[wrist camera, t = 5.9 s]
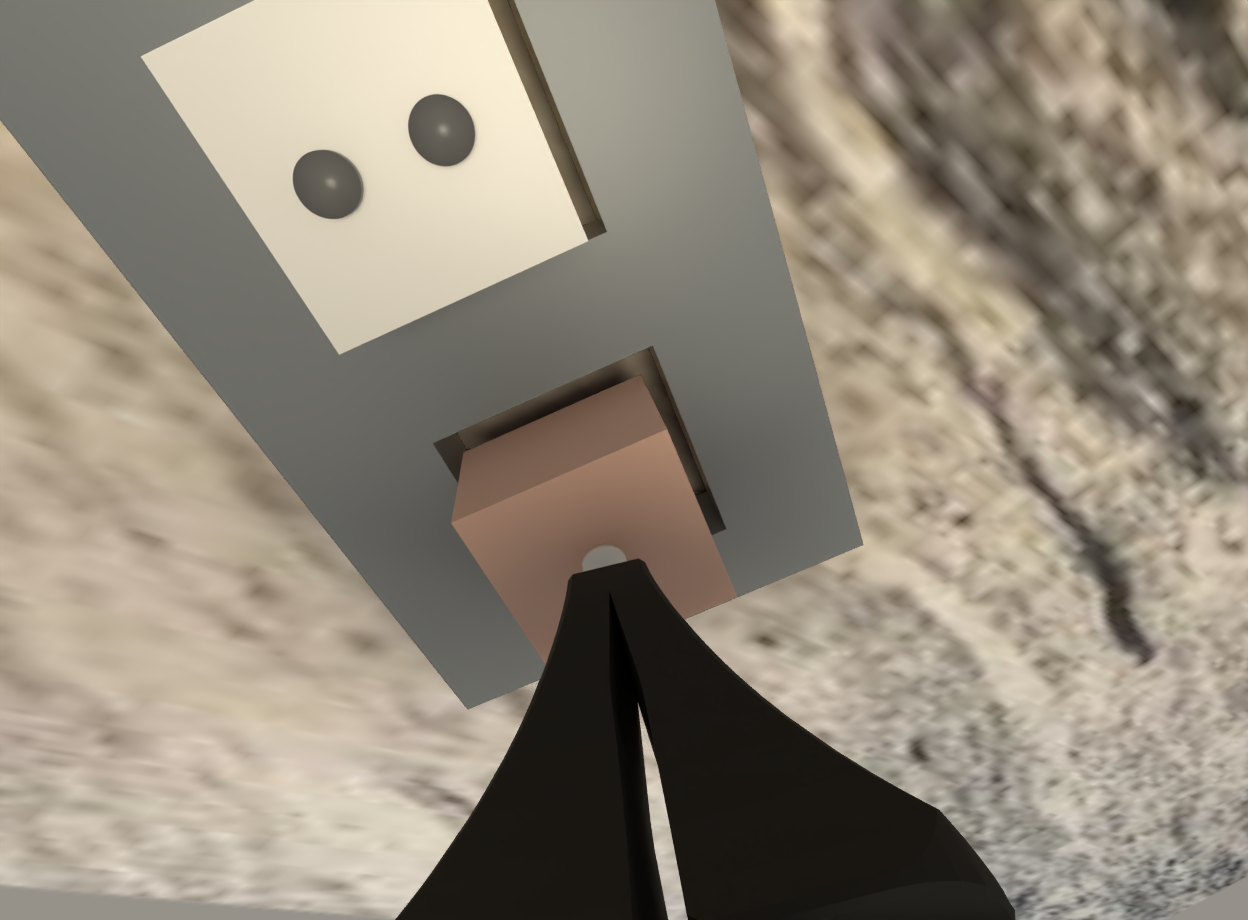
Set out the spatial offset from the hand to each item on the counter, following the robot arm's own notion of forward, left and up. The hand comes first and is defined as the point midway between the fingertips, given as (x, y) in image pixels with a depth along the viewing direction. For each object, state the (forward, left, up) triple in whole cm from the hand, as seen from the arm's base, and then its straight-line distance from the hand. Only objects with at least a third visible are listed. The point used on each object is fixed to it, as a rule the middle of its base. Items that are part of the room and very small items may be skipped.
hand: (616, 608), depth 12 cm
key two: (0, +8, -4) cm, 9 cm away
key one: (0, 0, -4) cm, 4 cm away
